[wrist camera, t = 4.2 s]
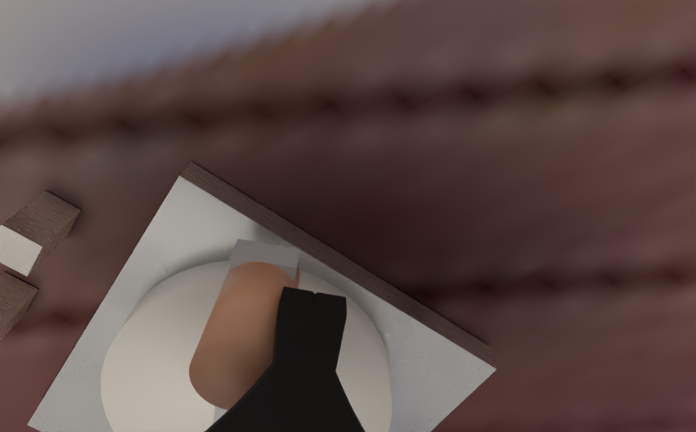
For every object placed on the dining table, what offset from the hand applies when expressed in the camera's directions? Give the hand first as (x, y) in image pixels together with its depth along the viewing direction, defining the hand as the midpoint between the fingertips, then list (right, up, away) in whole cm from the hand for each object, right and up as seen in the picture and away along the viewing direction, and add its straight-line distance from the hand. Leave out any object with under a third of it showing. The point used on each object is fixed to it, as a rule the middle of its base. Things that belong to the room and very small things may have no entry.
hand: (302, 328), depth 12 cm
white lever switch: (-2, -2, +4) cm, 4 cm away
